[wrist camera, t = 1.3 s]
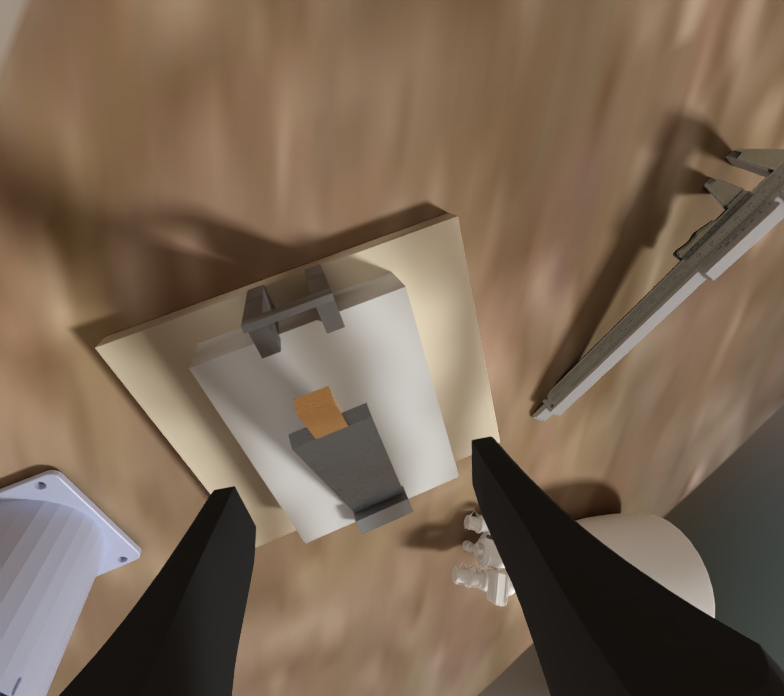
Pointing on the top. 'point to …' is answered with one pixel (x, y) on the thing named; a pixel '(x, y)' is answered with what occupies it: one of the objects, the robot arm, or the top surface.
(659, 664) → the robot arm
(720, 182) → the caliper
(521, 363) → the top surface
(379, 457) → the grey flat bar
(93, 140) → the top surface
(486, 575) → the rocket engine
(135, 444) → the top surface
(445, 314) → the base board
